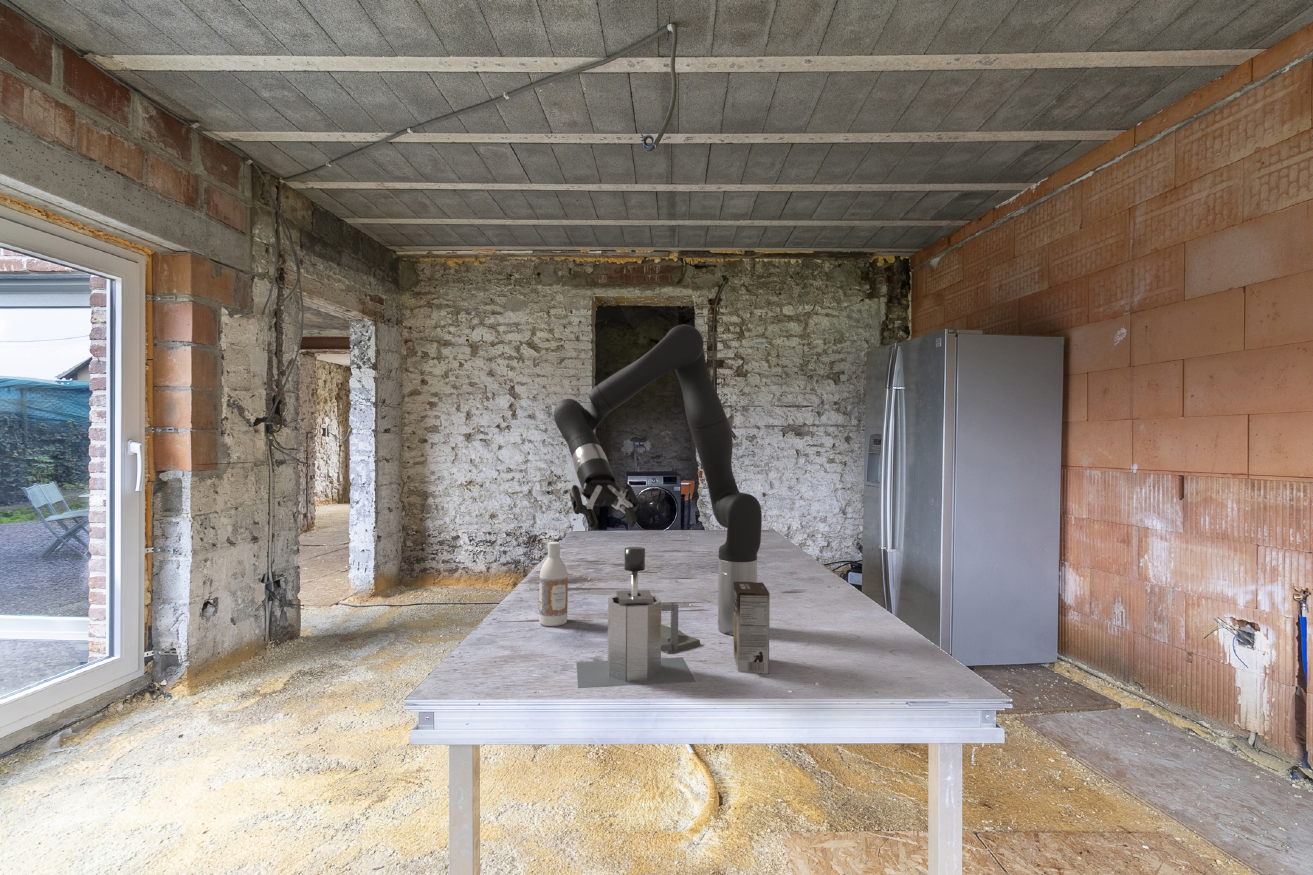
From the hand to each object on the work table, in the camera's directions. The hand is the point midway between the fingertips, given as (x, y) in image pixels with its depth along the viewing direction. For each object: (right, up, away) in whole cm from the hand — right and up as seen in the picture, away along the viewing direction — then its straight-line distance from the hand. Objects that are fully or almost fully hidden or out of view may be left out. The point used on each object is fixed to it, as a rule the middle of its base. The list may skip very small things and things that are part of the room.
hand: (614, 526), depth 125 cm
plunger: (+4, -25, -6) cm, 26 cm away
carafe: (+6, -28, -6) cm, 29 cm away
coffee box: (+28, -28, -1) cm, 40 cm away
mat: (+4, -28, -6) cm, 29 cm away
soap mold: (+8, -29, +15) cm, 34 cm away
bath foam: (-17, -28, +27) cm, 43 cm away
